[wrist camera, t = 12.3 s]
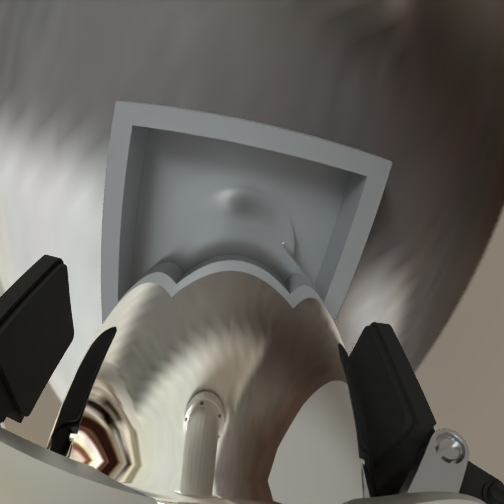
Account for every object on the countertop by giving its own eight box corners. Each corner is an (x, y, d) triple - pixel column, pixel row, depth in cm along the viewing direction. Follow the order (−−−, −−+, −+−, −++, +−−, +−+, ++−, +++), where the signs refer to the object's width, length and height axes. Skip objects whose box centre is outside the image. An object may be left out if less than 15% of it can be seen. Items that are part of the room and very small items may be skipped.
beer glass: (239, 317, 19) (223, 581, 6) (148, 242, 18) (-2, 495, 4) (328, 242, 17) (448, 525, 4) (235, 149, 15) (108, 423, 2)
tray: (138, 102, 15) (115, 101, 12) (370, 153, 16) (392, 162, 13) (119, 309, 20) (103, 336, 17) (303, 346, 21) (308, 377, 18)
